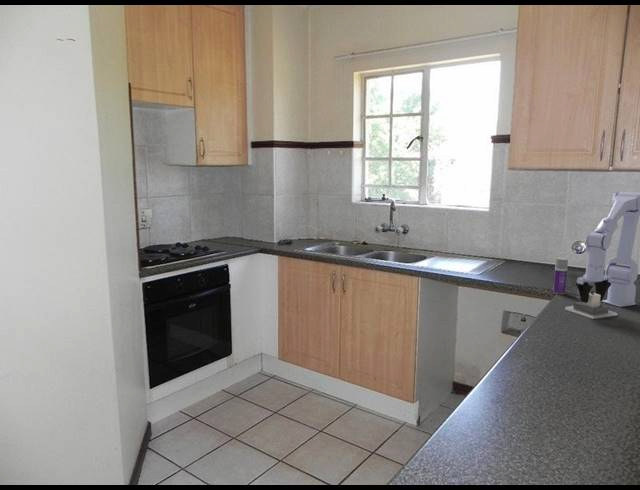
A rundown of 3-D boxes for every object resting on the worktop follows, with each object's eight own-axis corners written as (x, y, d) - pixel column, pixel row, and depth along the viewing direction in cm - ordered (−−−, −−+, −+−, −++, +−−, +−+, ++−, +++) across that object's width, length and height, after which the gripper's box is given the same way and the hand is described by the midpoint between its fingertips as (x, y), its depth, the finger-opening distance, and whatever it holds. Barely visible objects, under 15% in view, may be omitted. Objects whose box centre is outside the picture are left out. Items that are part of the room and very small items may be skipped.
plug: (589, 307, 177) (591, 289, 176) (598, 310, 174) (601, 291, 173) (581, 308, 176) (583, 290, 175) (591, 311, 172) (593, 292, 171)
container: (558, 294, 199) (561, 259, 197) (550, 291, 204) (553, 257, 201) (567, 294, 200) (570, 259, 198) (559, 291, 205) (562, 257, 203)
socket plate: (587, 306, 182) (588, 298, 182) (616, 315, 171) (617, 307, 171) (564, 309, 178) (565, 301, 178) (593, 318, 167) (594, 310, 167)
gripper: (599, 262, 178) (596, 296, 180) (571, 264, 173) (567, 300, 175) (617, 265, 172) (613, 301, 174) (588, 268, 167) (584, 305, 169)
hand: (591, 301), depth 174 cm, fingers open, 7 cm apart
